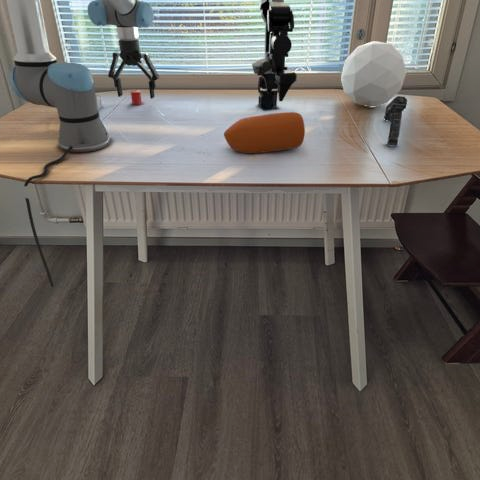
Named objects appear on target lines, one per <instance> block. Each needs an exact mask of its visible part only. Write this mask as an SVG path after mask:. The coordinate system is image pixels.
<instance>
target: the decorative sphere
mask: <svg viewBox="0 0 480 480" xmlns="http://www.w3.org/2000/svg"><path fill="white" fill-rule="evenodd" d="M407 72H408V71H407V68H406V65H405V61H404V57H403V55H402V54H401V52H400V51H398V49H397V48H396V47H395V46H394V44H392V43H389V42H382V41H376V40H371V41H369V42H367V43H364V44H361V45H358V46H357V47H356V48H355V49H354V50H353V51H352V52H351V53H350V54H349V55H348V57H347V58H346V59H345V60H344V63H343V66H342V71H341V74H340V75H341V76H340V82H341V85H342V89H343V90H342V91H343V93H344V95H345V96H346V97H348V98H349V100H351V101H352V102H353V101H354V102H353V103H355V104H356V105H359V106H362V105H367V106H376V107H369V109H374V108H377V107H379V106H382V105H384V104H387V103H389V102H390V101H391V100H392V99H394V98H395V96H396V95H397V94H398V93H399V92H400V91H401V90H402V87H403V84H404V82H405V78H406V75H407ZM381 104H382V105H381ZM378 105H379V106H378ZM367 106H365V107H366V108H368V107H367Z"/></svg>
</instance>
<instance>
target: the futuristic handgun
mask: <svg viewBox="0 0 480 480" xmlns="http://www.w3.org/2000/svg"><path fill="white" fill-rule="evenodd" d="M407 105H408V99H407V97H406V96H400V95H398V96H396V97H393V98H392V99H391V100H390V101H389V102H388V104H387V105H386V106H385V110H384V115H383V121H385V122H389V124H390V125H389V132H388V137H387V141H386V142H387V143H386V146H395V147H396V146H398V142H399V137H400V129H401V124H402V116H403V112H404V110H406V109H407ZM384 119H385V120H384ZM386 120H388V121H386Z"/></svg>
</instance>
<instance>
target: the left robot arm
mask: <svg viewBox="0 0 480 480" xmlns="http://www.w3.org/2000/svg"><path fill="white" fill-rule="evenodd" d="M5 1H6V4H7V10H8V14H9V18H10V23H11V28H12V31H13V32H12V33H13V36H14V40H15V41H14V42H15V46H16V49H17V53H16V54H15V56H14V57H13V62H14V65H13V66H12V68H11V71H10V72H9V73H10V74H9V81H10V85H11V87H12V90H13V91H14V92H15V94H16V95H17V96H18V97H19V98H20V99H22V101H25V102H27V103H31V104H33V105H36V106H43V107H44V106H45V107H50V108H55V109H56V111H57V114H58V118H59V132H58V133H59V134H58V145H59V148H60V149H61V150H62V151H64V153H63V154H62V155H61V157H59V158H58V159H55V160H52V161H50V162H48V163H46V164H45V165H44V167H43V172H42V173H40V174H36V175H32V176H30V177H28V178H27V179H26V180H25V182H24V184H23V187H28V186H29V183H31V181H33V180H36V179H39V178H43V177H45V176H46V175H47V173H48V168H49V167H50V166H53V165H55V164H58V163H60V162H61V161H63V160H64V159H65V158H66V157H67V155H68V153H74V154H76V153H77V154H81V153H82V154H83V153H90V152H96V151H99V150H102V149H104V148H106V147H107V146H108V145H109V144H110V143H111V140H110V139H111V138H110V135H109V133H108V130H107V129H106V127H105V125H104V123H103V121H102V120H101V116H100V112H99V110H98V105H97V99H96V95H97V94H96V88H95V81H94V79H93V75H92V72H91V70H90V69H89V68H88V67H87V66H85V65H84V64H80V63H76V62H68V61H60V62H58V60H57V57H56V56H55V55H54V54H53V53H51V51H50V46H49V41H48V35H47V29H46V23H45V20H44V19H45V18H44V14H43V8H42V3H41V0H5ZM86 10H87V16H88V18H89V20H90V22H91V23H92V24H93V25H94V26H97V27H105V26H116V32H117V38H118V46H119V51H120V52H118V51H114V52H112V60H111V63H110V67H109V71H108V75H107V77H108V78H111V79H112V80H113V84H114V88H116V91H117V97H118V98H121V97H122V96H123V94H124V93H123V88H122V87H123V86H122V82H121V78H120V75H121V73H122V72H123V70H124V69H125V67H126V66H128V67H130V66H132V67H137V68H139V69H140V71H142V73H143V74H144V75H145V76H146V77H147V78H148V89H149V96H150V100H151V99H153V98H155V90H156V88H157V87H156V85H157V84H156V81H157V80H159V79H160V75H159V73H158V72H157V71H158V70H157V69H156V67H155V66H154V64H153V62H152V60H151V58H150V54H149V52H146V53H141V45H140V40H139V29H142V28H143V29H145V28H146V29H147V28H150V27H151V26H152V25H153V23H154V19H155V14H154V13H155V12H154V8H153V7H152V5H151V3H149V2H146V1H143V0H141V1H140V0H91V1H90V2H89V3H88V5H87V9H86ZM119 59H121V60H122V61H121V62H120V65H119V67H117V65H118V63H119ZM142 59H143V61H144V62H145V63H144V62H143V61H142ZM145 64H146V65H145ZM116 68H117V70H116ZM24 199H25V204H26V208H27V209H26V210H27V214H28V219H29V223H30V228H31V232H32V236H33V238H34V241H35V244H36V248H37V251H38V253H39V255H40V258H41V261H42V264H43V266H44V270H45V273H46V275H47V278H48V281H49V284H50V287H51V288H53V287H54V286H55V285H54V282H53V279H52V276H51V272H50V269H49V266H48V264H47V261H46V259H45V256H44V253H43V250H42V247H41V244H40V241H39V238H38V234H37V231H36V227H35V223H34V219H33V214H32V210H31V209H32V208H31V203H30V199H29V198H28V197H24Z"/></svg>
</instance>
